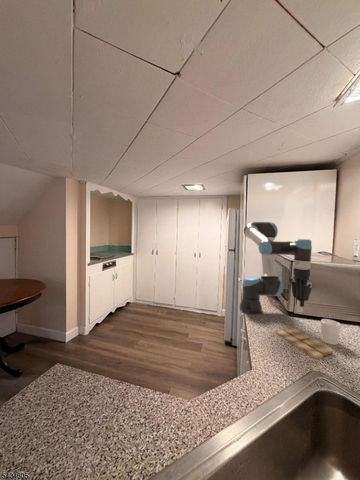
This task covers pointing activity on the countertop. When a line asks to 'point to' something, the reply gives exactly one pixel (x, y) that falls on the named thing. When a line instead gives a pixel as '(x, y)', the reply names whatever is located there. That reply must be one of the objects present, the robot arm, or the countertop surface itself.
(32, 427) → the countertop surface
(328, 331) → the white cup
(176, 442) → the countertop surface
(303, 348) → the laid board
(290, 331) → the plank
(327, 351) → the plank
